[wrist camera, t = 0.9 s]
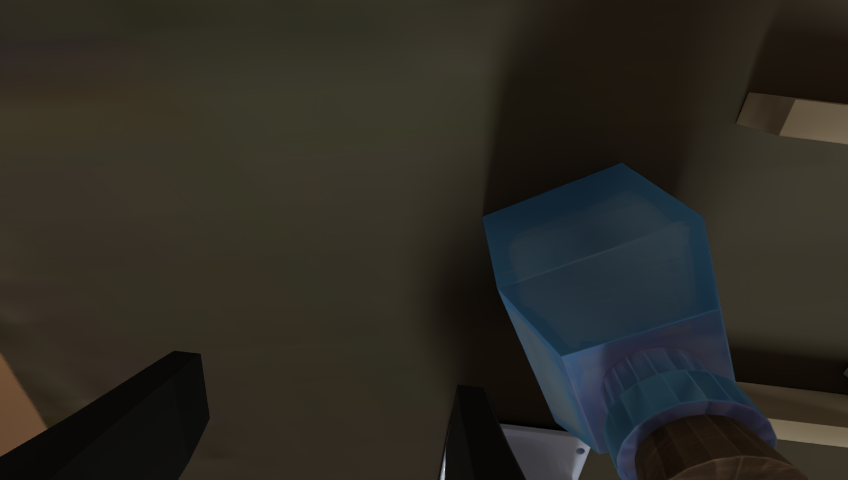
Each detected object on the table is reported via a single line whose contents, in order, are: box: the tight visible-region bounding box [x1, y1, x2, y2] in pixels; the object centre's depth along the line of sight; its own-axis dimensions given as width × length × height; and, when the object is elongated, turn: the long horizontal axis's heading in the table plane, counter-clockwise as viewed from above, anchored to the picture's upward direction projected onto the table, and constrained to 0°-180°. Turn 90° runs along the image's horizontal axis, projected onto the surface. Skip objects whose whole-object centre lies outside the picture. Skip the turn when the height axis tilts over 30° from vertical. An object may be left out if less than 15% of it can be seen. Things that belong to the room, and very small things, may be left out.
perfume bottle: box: [482, 163, 808, 480], centre depth 14 cm, size 6×6×12 cm
